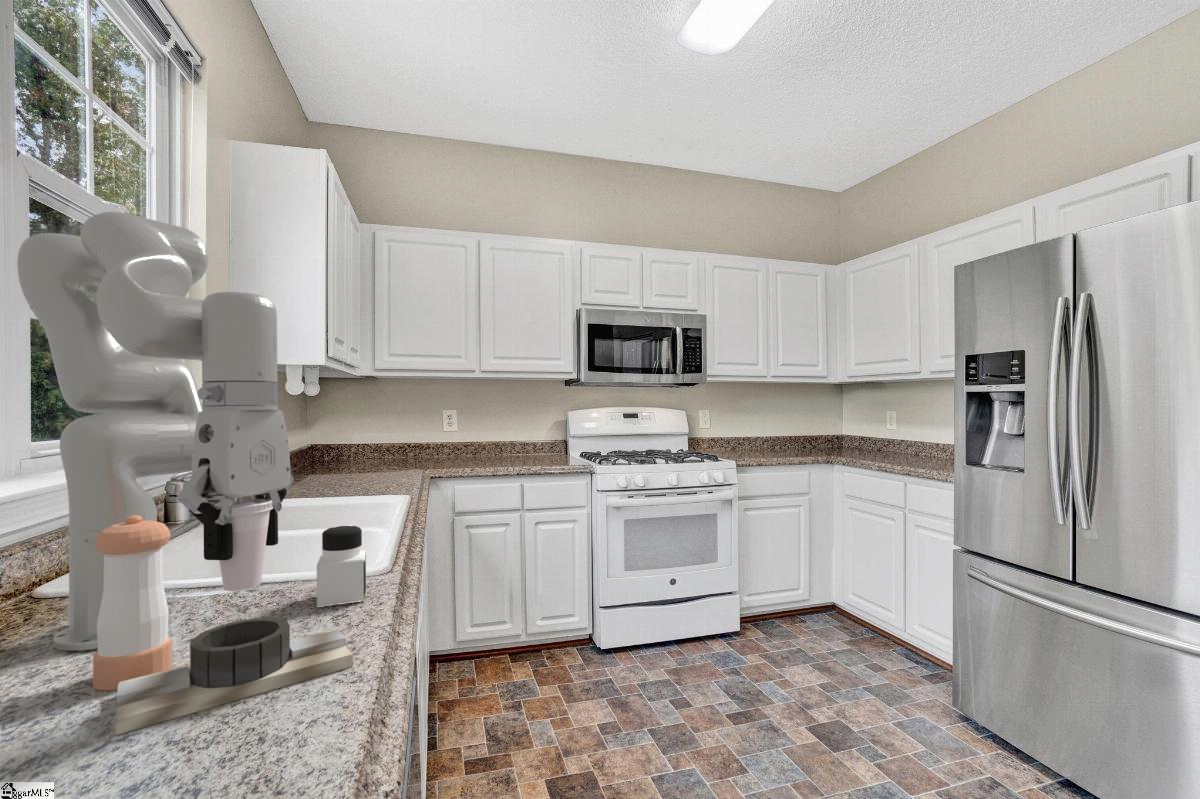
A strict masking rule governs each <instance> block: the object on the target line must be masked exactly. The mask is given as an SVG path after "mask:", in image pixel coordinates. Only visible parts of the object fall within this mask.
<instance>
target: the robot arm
mask: <svg viewBox="0 0 1200 799" xmlns="http://www.w3.org/2000/svg"><path fill="white" fill-rule="evenodd" d="M16 262H17V264H16V265H17V266H16V267H17V276H18V281H19V285H20V287H21V288H20V289H21V291H22V294H23V296H24V299H25V300H26V303H27V304H28V306H29V307H30V310H32V312H33V314H34V315H35V317H36V318H37V320H38V321H39V323H40V325H41V327H42V328H43V331H44V333H45V335H46V338H47V340H48V346H49V350H50V354H51V357H52V362H53V366H54V370H55V374H56V378H57V383H58V386H59V389H60V393H61V395H62V397H63V399H64V401H65V402H66V404H67V405H68V406H69V407H70V408H71V409H73V410H76V411H79V412H82V413H89V414H90V415H85V416H82V417H79V418H77V419H75V420H73V421H70V423H69V424H67V425H66V426H65V427H64V429H63V430H62V432H61V435H60V439H59V452H60V458H61V462H62V466H63V471H64V475H65V480H66V486H67V487H66V488H67V495H68V496H67V497H68V499H67V500H68V547H69V548H68V606H66V607H65V609H64V614H65V615H67V616H68V627H66V628H64V629H62V630H60V631H59V632H58V633H56V634H55V635H54V636H53V637H52V638H53V639H52V640H53V642H52V643H53V644H52V645H54V646H53V648H54V649H56V650H59V649H60V651H63V650H64V651H65V652H66V651H67V652H76V651H77V652H79V651H92V650H98V643H97V621H98V616H99V611H100V606H101V601H102V596H103V591H104V554H101V553H99V552H98V551H97V549H96V547H95V541H96V538H97V536H98V535H99V534H100V532H101V531H102V530H105V529H107V528H109V527H111V526H113V525H116V524H120V523H126V522H125V520H126V518H127V517H129V516H134V515H138V516H141V517H142V521H147V520H149V521H156V522H158V510H157V506H156V503H155V501H154V498H153V497H152V496H151V495H150V494H149V493H148V492H147V491H146V490H145V489H144V488H143V487H142V486H141V485H140V484H139V483H138V481H137V479H139V478H140V479H141V478H146V477H152V476H164V475H173V474H174V475H175V474H183V473H190V472H191V477H190V478H189V480H188V481H186V482H187V483H186V484H185V485H184V486H183V487H182V488H181V490H180V491H179V493H177V497H176V498H177V500H178V502H180V503H181V504H182V506H184V507H185V508H186V509H188V510H189V512H190V514H191V515H193V516H194V517H195V518H196V519H197V524H198V525H201V526H202V525H203V559H204V560H206V561H219V560H229V559H231V558H232V556H233V528H232V523H226V522H227V520H228V517H229V514H230V510H231V507H232V504H233V501H235V499H237V498H241V497H242V498H247V497H251V499H270V500H272V504H273V509H271V510H270V514H269V523H268V531H267V539H266V546H268V547H269V546H270V547H271V546H276V545H277V544H278V543H279V515H278V514H279V512H280V511H282V509H283V505H282V502H283V501H284V499H285V498H286V497H287V492H288V491H289V489H290V487H291V486H292V485H293V484H294V480H295V479H294V476H293V475H292V474H291V459H290V458H291V457H290V447H289V446H290V445H289V438H288V432H287V425H286V422H285V417H284V413H283V410H282V409H280V410H279V404H278V403H279V398H278V397H279V396H278V395H279V394H278V393H279V392H278V391H279V390H278V388H279V387H278V321H277V320H278V319H277V318H278V315H277V308H276V305H275V304H274V302H273V301H272V300H271V299H270V298H267V297H266V296H263V295H260V294H256V293H255V294H254V293H248V292H240V291H239V292H238V291H220V292H213V293H210V294H208V295H206V296H205V298H204V299H197V298H191V297H185V296H186V295H188V293H189V292H190V290H191V287H192V286H193V285H195V284H196V283H197V282H199V281H200V280H201V279H202V278H203V276H204V275H205V273H206V271H207V268H208V264H209V252H208V248H207V246H206V245H205V242H204V241H203V239H202V238H200V236H199V235H198V234H196V232H194V231H192V230H190V229H188V228H185V227H181V226H178V225H174V224H171V223H168V222H167V223H166V222H162V221H158V220H154V219H150V218H147V217H146V218H145V217H142V216H140V215H139V216H138V215H135V214H131V213H125V212H121V211H119V212H117V211H106V212H100V213H96V214H94V215H92V216H90V217H88V219H86V220H85V221H84V223H83V224H82V226H81V229H80V235H75V234H74V235H73V234H68V233H60V232H59V233H58V232H57V233H56V232H46V233H45V232H44V233H43V232H42V233H37V234H34V235H32V236H28V238H26V239H25V240H23V242H22V243H21V245H20V247H19V250H18V254H17V261H16ZM87 294H88V295H95V296H96V302H95V301H93V300H92V299H91V298H89V297H88V295H87ZM182 360H191V361H192V360H193V361H201V378H202V379H201V380H202V382H201V385H202V386H201V387H199V389H198V387H197V384H196V380H195V378H194V375H193V373H192V371H191V369H190V368H189V366H188V365H187V364H186V363H184V362H183V361H182ZM91 413H92V414H91ZM217 503H219V507H218V510H216V509H215V508H214V507H215V504H217ZM170 623H171V614H170V613H169V615H168V625H169V624H170Z"/></svg>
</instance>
